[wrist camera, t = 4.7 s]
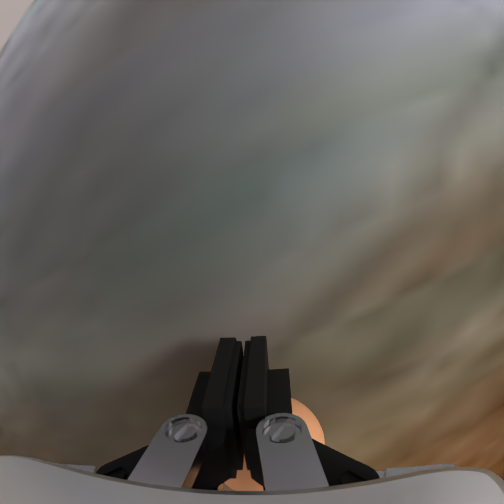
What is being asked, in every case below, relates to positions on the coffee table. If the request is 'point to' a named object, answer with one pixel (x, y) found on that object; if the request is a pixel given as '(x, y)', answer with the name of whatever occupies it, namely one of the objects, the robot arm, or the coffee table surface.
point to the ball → (244, 476)
